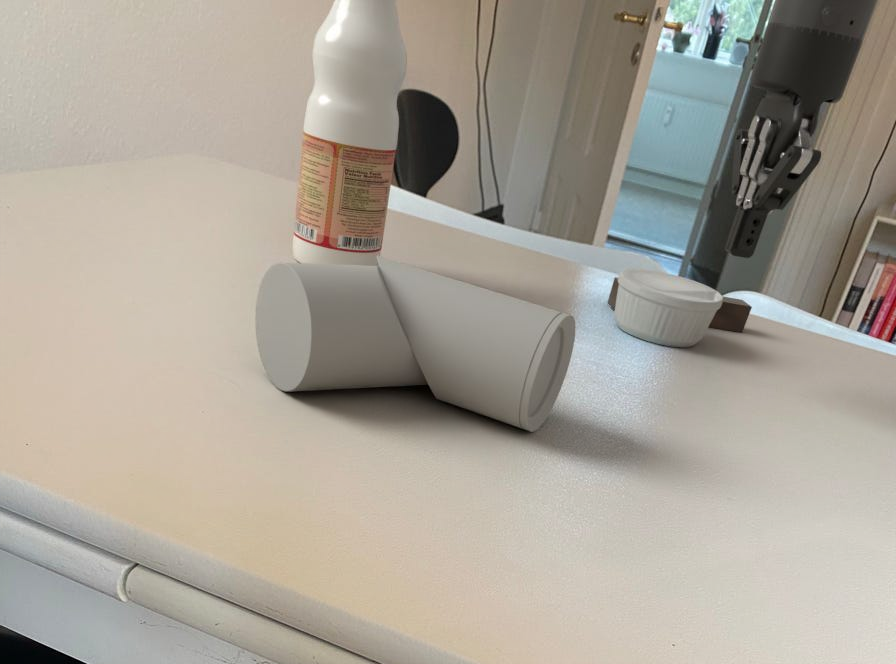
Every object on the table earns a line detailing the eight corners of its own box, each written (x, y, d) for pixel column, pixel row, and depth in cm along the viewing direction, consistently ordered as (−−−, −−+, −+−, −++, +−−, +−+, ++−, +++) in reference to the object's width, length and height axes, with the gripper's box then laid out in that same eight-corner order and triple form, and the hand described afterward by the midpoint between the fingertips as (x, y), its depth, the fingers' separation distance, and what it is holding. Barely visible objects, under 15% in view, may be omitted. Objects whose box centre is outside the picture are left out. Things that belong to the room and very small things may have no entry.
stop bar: (732, 325, 109) (742, 299, 107) (742, 332, 106) (752, 306, 104) (606, 303, 106) (614, 277, 104) (613, 310, 103) (621, 283, 102)
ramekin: (693, 359, 92) (712, 306, 89) (591, 327, 95) (606, 275, 92) (715, 339, 101) (733, 291, 98) (621, 311, 104) (635, 263, 101)
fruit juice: (276, 260, 95) (305, -75, 79) (311, 247, 102) (344, -61, 87) (360, 283, 93) (406, -54, 78) (389, 268, 101) (437, -42, 85)
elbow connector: (452, 335, 79) (240, 338, 68) (495, 215, 72) (265, 197, 61) (569, 462, 70) (347, 488, 59) (631, 340, 63) (391, 345, 52)
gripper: (901, 40, 68) (806, 280, 77) (822, 33, 78) (748, 245, 88) (810, 19, 66) (725, 266, 76) (742, 16, 77) (675, 232, 87)
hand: (737, 254), depth 82 cm, fingers closed
